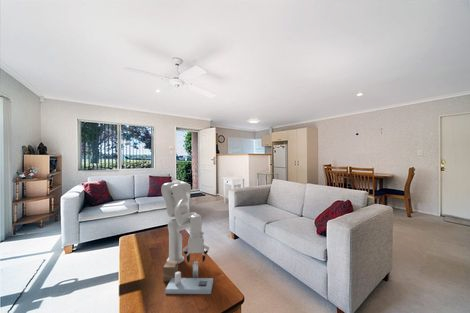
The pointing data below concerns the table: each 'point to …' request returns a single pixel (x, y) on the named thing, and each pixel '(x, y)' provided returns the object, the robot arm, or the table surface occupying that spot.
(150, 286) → the table surface
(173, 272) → the wooden box
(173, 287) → the board
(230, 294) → the table surface
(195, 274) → the peg
